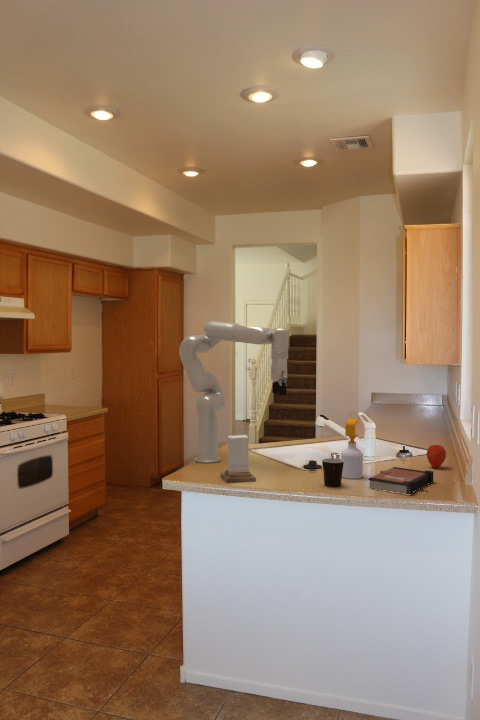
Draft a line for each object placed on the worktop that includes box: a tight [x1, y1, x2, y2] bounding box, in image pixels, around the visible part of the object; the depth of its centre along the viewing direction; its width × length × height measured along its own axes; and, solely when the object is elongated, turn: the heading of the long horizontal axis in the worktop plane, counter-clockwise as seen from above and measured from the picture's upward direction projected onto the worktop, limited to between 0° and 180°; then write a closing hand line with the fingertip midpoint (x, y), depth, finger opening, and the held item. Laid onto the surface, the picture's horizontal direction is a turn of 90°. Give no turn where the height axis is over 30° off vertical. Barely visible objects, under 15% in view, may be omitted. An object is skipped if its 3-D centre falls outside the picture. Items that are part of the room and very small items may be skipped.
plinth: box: [220, 469, 257, 484], centre depth 246 cm, size 12×12×3 cm
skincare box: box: [227, 434, 250, 473], centre depth 246 cm, size 8×6×15 cm
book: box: [368, 466, 434, 495], centre depth 238 cm, size 26×18×5 cm
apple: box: [426, 444, 447, 469], centre depth 270 cm, size 9×8×11 cm
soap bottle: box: [340, 417, 364, 480], centre depth 251 cm, size 9×9×25 cm
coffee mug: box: [321, 457, 344, 488], centre depth 235 cm, size 12×9×10 cm
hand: (279, 394), depth 266 cm, fingers open, 9 cm apart
